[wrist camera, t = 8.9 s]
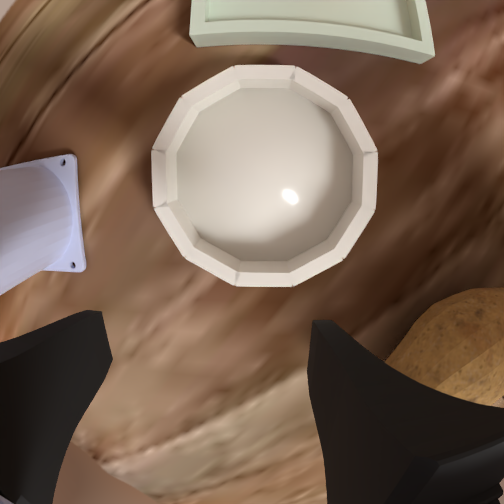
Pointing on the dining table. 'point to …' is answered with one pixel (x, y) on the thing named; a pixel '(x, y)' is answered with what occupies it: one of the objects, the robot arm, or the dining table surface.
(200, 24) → the tray
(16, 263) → the robot arm
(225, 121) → the dish
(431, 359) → the potato
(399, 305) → the dining table surface
